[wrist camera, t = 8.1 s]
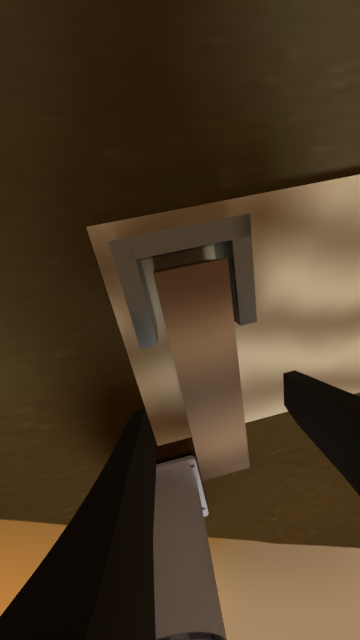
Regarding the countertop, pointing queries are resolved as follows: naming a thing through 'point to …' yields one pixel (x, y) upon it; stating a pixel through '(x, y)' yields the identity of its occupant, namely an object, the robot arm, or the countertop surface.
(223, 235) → the bracket
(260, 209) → the mounting board
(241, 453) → the rail
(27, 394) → the countertop surface
